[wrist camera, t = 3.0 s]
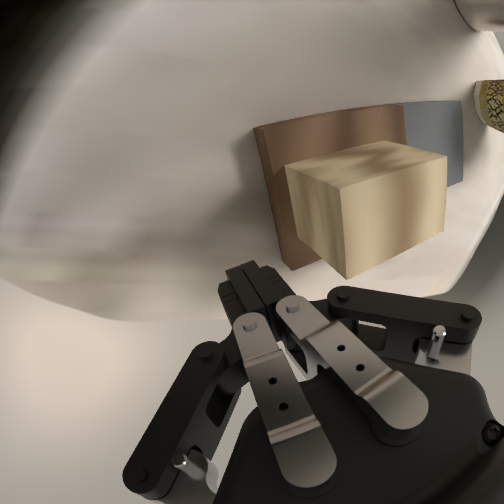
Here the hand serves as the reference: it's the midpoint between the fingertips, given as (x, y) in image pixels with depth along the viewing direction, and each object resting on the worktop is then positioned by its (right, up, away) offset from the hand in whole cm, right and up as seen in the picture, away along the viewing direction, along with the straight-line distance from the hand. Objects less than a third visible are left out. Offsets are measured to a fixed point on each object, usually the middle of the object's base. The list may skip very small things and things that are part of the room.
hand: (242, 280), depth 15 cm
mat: (+21, +13, +12) cm, 28 cm away
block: (+8, +7, +8) cm, 13 cm away
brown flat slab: (+8, +8, +10) cm, 15 cm away
